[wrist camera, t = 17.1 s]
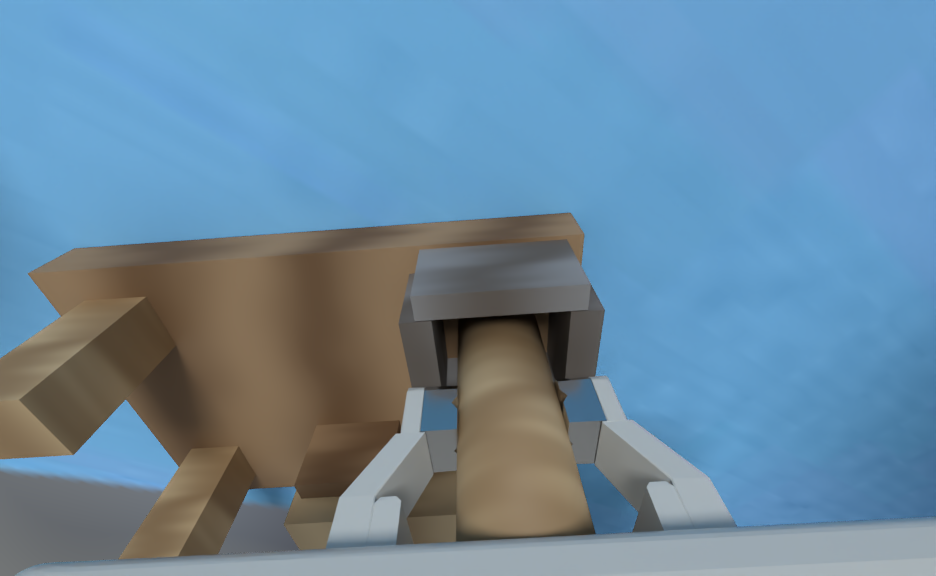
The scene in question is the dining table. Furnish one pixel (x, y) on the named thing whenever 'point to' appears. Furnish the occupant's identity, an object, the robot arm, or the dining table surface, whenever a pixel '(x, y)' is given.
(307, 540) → the hinged leg
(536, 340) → the oak leg peg
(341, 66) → the dining table surface
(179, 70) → the dining table surface
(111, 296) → the wooden assembly base board
